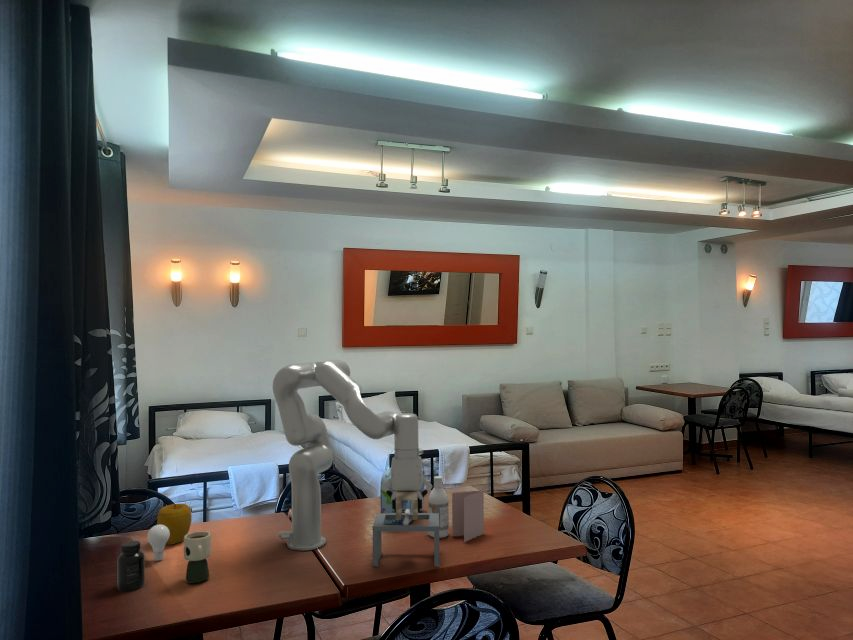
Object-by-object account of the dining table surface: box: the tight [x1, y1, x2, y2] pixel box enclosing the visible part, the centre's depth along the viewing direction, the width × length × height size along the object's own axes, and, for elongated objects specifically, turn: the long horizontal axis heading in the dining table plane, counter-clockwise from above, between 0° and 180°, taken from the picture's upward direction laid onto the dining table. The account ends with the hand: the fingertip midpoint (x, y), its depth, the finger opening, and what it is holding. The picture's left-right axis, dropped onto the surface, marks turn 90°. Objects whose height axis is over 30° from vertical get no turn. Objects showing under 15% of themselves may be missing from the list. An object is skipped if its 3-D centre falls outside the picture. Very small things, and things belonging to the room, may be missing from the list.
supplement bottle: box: [116, 540, 146, 592], centre depth 168 cm, size 7×7×12 cm
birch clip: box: [396, 491, 419, 521], centre depth 187 cm, size 7×7×8 cm
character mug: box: [183, 530, 212, 584], centre depth 172 cm, size 11×7×13 cm, turn 28°
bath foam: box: [427, 475, 450, 539], centre depth 209 cm, size 7×7×20 cm
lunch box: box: [379, 462, 426, 525], centre depth 227 cm, size 26×11×21 cm, turn 162°
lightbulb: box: [146, 524, 170, 562], centre depth 187 cm, size 6×6×11 cm
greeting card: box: [451, 490, 485, 543], centre depth 206 cm, size 11×7×15 cm, turn 105°
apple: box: [156, 503, 192, 546], centre depth 203 cm, size 11×11×13 cm
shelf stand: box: [372, 509, 440, 568], centre depth 187 cm, size 20×13×14 cm, turn 89°
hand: (407, 510), depth 187 cm, fingers closed on birch clip, 6 cm apart
